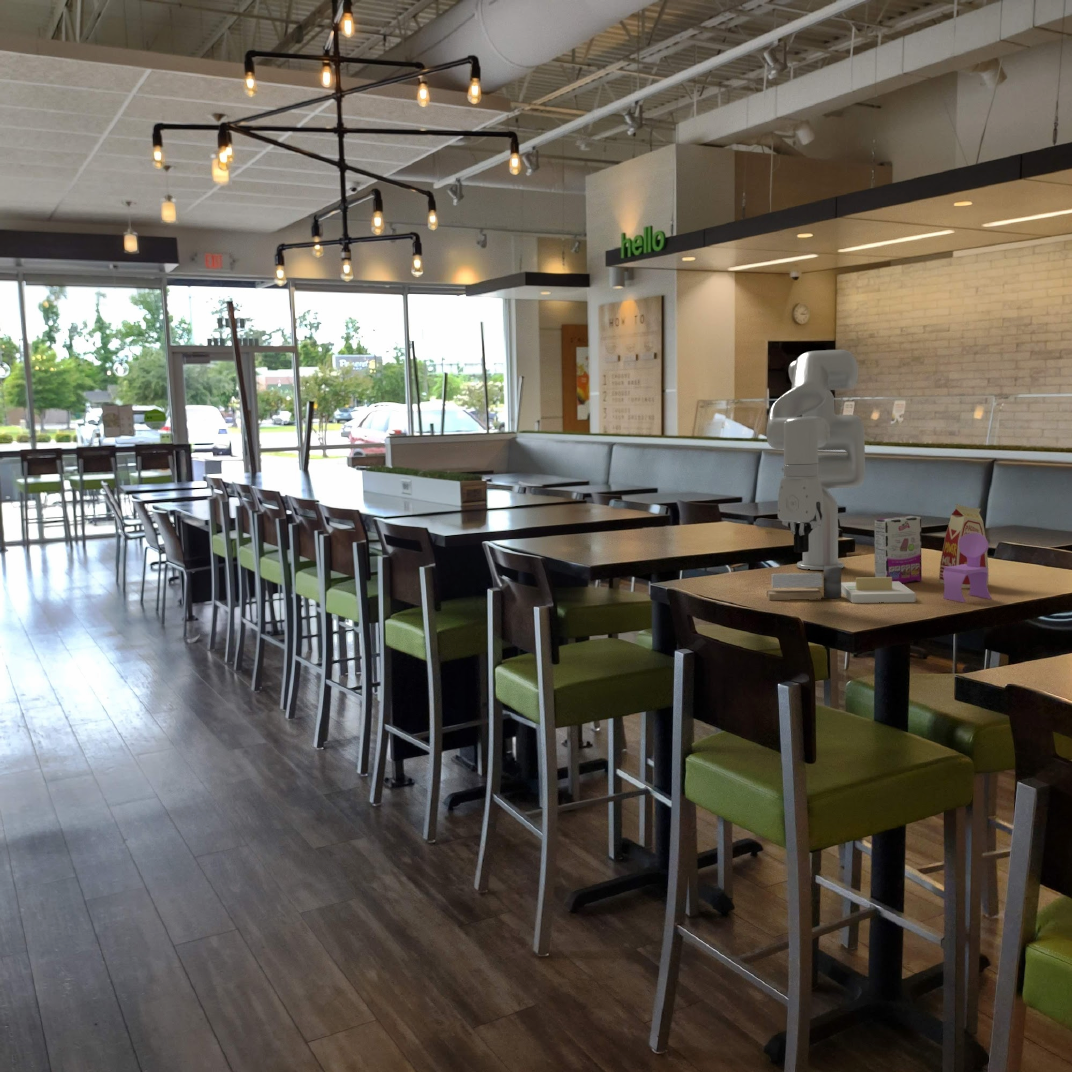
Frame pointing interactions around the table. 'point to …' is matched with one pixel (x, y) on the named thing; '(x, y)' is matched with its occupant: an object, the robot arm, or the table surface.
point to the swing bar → (796, 580)
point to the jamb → (830, 589)
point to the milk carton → (959, 526)
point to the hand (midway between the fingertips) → (801, 551)
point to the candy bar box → (898, 548)
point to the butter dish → (876, 590)
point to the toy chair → (968, 569)
